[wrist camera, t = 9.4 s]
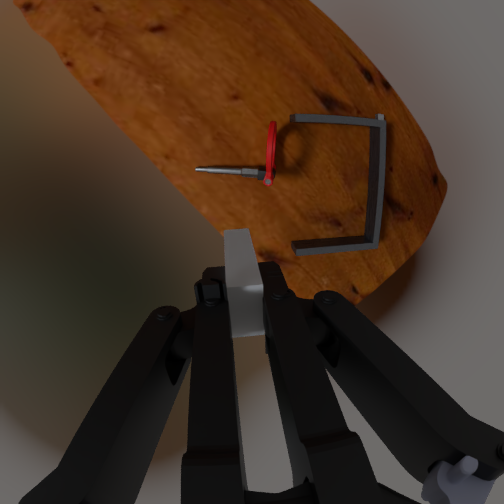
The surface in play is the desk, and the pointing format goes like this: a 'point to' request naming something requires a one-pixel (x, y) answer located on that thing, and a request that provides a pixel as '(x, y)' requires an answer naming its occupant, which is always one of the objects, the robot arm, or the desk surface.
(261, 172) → the tow hook
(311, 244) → the bracket
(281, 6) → the desk surface
